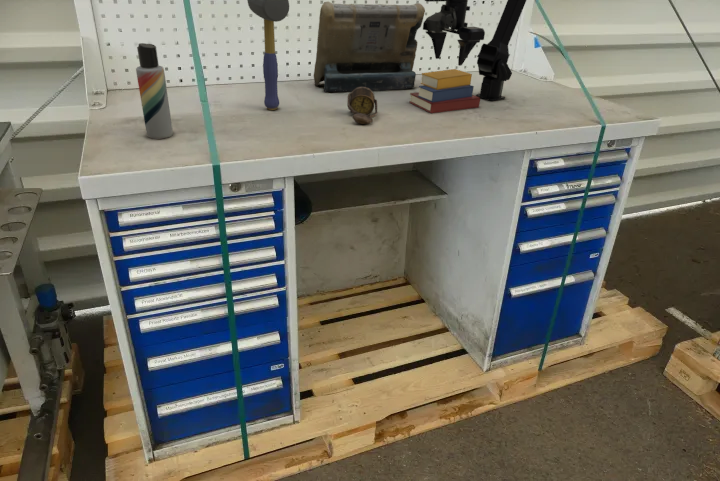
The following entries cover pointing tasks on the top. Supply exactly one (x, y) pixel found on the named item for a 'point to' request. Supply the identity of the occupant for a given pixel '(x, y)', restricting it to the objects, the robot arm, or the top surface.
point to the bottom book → (444, 103)
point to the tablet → (367, 46)
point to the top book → (446, 79)
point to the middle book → (445, 93)
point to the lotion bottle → (153, 93)
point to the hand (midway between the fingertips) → (448, 61)
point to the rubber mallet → (270, 44)
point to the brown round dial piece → (362, 105)
